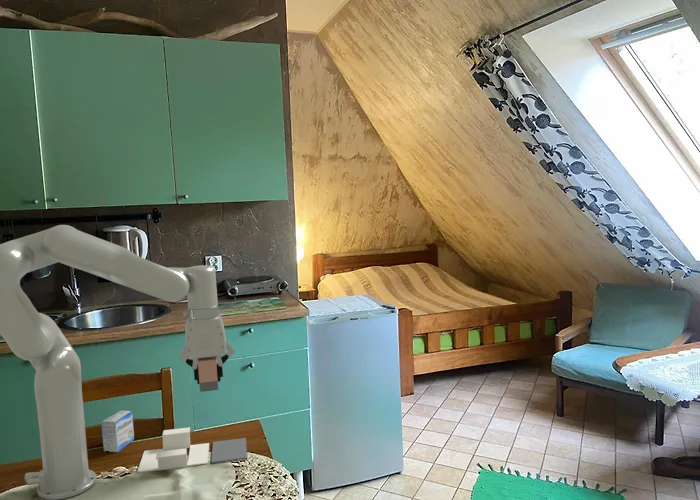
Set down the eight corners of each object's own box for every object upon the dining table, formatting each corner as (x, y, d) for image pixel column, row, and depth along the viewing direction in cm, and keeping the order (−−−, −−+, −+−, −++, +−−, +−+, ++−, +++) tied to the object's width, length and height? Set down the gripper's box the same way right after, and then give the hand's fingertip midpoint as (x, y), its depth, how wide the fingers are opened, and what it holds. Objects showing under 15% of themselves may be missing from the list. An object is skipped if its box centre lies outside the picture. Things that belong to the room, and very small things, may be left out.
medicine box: (117, 453, 149) (115, 422, 148) (103, 451, 150) (100, 421, 149) (134, 440, 157) (132, 410, 156) (120, 439, 157) (118, 409, 157)
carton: (135, 477, 135) (134, 460, 135) (145, 448, 151) (144, 432, 151) (207, 468, 139) (206, 451, 138) (209, 440, 155) (208, 425, 154)
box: (200, 392, 142) (197, 361, 141) (201, 384, 148) (198, 355, 147) (218, 389, 143) (215, 359, 142) (218, 382, 149) (216, 353, 148)
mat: (211, 463, 141) (211, 462, 141) (212, 443, 153) (212, 441, 153) (247, 459, 143) (247, 457, 143) (245, 439, 155) (245, 437, 154)
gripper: (168, 319, 138) (174, 390, 140) (237, 313, 141) (242, 381, 143) (171, 313, 145) (177, 380, 147) (236, 307, 148) (241, 372, 150)
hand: (209, 380), depth 145 cm, fingers closed on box, 4 cm apart
